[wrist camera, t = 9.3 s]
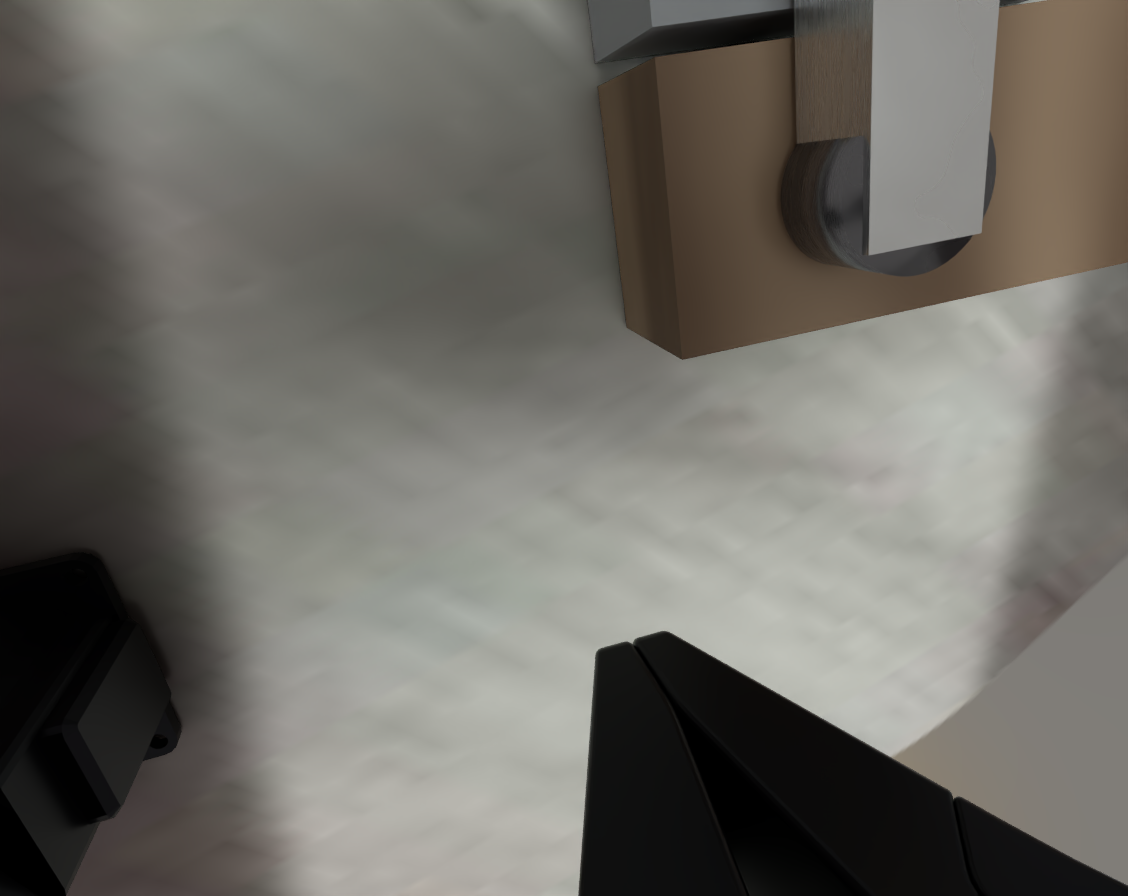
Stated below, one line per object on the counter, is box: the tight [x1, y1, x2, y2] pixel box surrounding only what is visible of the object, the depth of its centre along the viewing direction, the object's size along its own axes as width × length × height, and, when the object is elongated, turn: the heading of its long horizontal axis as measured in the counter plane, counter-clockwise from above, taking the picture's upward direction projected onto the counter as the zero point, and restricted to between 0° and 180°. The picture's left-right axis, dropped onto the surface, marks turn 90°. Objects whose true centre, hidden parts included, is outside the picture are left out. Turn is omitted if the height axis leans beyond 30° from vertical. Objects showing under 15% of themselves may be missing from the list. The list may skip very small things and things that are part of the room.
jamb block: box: [598, 0, 1128, 360], centre depth 17 cm, size 12×6×4 cm, turn 98°
